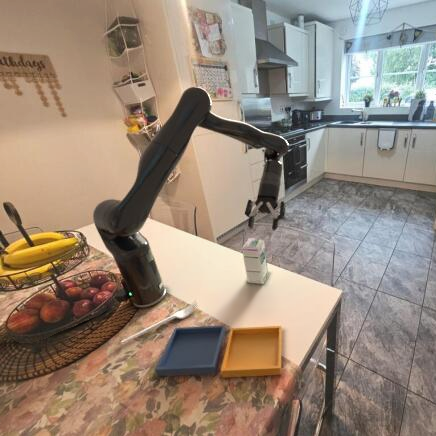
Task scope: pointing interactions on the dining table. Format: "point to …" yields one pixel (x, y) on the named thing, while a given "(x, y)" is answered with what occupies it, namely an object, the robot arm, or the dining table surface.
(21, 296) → the dining table surface
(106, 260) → the dining table surface
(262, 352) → the honey tray
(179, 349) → the blue tray
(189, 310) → the fork
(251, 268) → the syrup box
